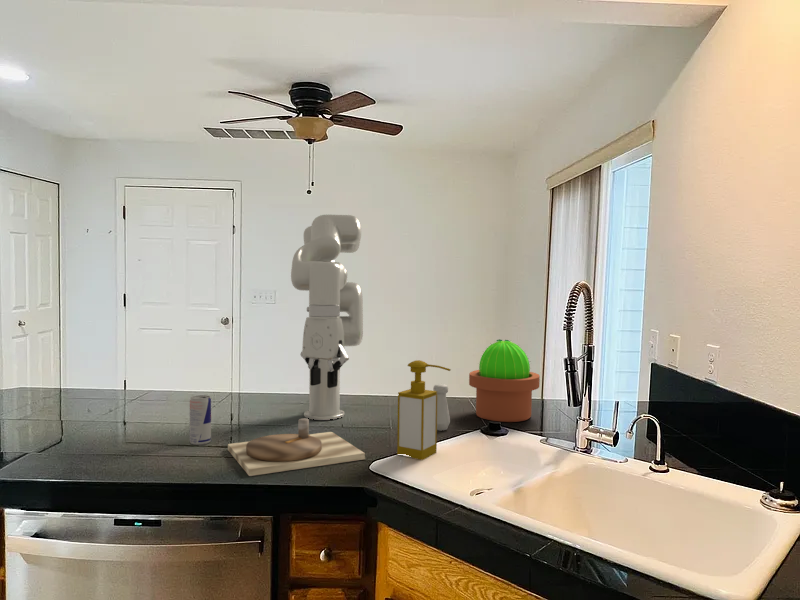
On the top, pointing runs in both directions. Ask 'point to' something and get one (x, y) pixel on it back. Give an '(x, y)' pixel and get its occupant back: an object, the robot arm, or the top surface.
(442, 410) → the salt shaker
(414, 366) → the soap bottle
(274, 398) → the top surface
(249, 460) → the wooden cutting board
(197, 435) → the energy drink
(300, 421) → the dial
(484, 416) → the potted cactus
